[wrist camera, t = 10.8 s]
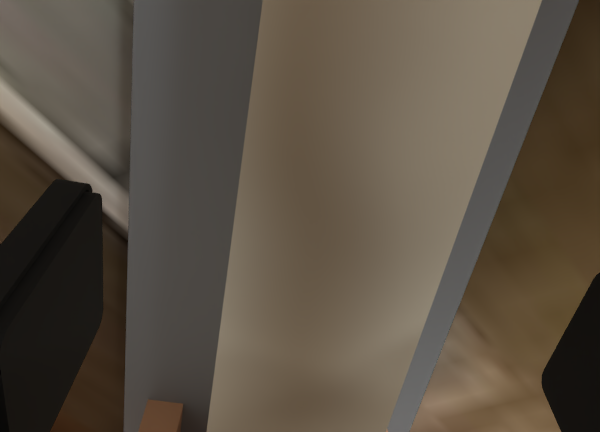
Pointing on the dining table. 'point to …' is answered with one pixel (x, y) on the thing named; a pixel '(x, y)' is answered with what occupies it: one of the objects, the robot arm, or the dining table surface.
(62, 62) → the dining table surface
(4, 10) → the dining table surface
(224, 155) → the board
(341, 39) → the slat
